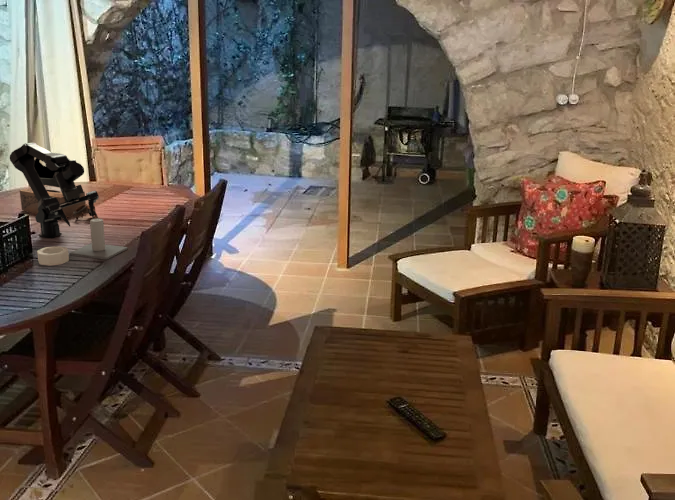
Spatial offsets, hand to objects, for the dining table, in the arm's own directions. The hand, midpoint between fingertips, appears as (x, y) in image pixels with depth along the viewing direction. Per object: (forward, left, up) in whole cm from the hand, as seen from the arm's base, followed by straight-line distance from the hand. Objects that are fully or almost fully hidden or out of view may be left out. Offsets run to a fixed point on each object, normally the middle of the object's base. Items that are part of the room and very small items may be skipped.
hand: (81, 222), depth 265 cm
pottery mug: (-22, +35, -10) cm, 43 cm away
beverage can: (+10, -5, -9) cm, 14 cm away
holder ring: (+1, -20, -10) cm, 22 cm away
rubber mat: (+10, -5, -10) cm, 15 cm away
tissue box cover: (-45, +42, -10) cm, 62 cm away
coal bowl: (-68, +71, -10) cm, 99 cm away
